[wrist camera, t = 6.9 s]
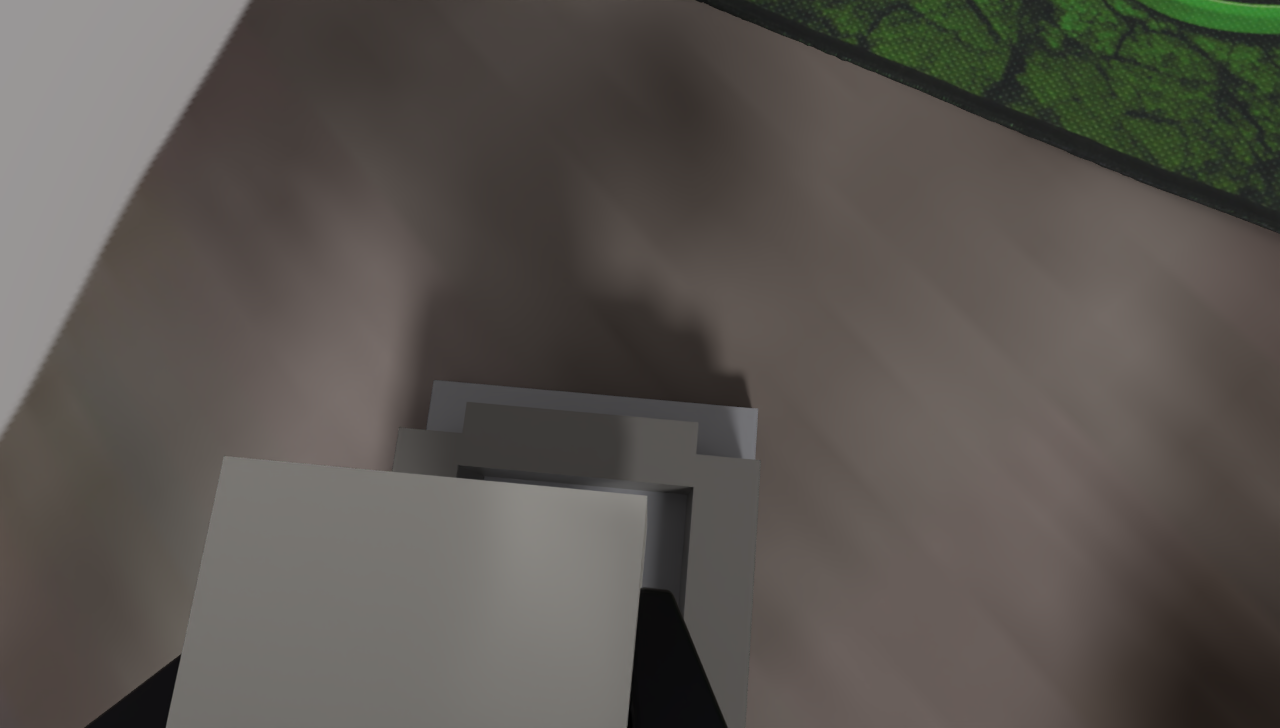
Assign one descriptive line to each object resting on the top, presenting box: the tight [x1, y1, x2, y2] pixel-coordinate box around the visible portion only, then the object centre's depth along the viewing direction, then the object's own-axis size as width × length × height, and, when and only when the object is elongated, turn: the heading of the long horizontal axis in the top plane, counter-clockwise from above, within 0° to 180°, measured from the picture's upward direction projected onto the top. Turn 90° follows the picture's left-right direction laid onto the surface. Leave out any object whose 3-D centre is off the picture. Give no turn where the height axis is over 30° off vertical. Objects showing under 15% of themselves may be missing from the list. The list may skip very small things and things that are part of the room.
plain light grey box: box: [166, 456, 647, 728], centre depth 11 cm, size 5×4×10 cm
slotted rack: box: [392, 380, 761, 728], centre depth 19 cm, size 12×9×4 cm
